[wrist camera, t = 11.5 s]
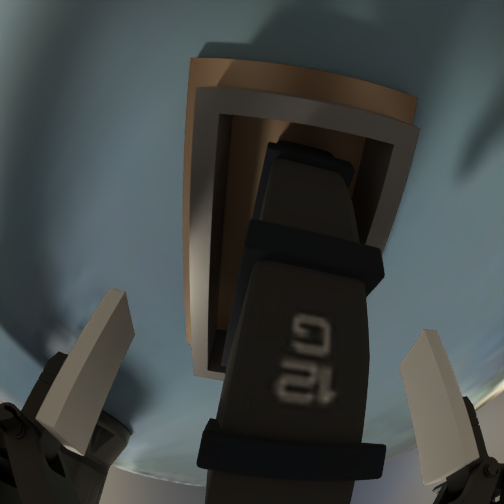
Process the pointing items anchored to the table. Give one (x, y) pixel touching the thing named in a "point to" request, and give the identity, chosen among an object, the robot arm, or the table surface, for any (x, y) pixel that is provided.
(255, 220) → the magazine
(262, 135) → the board
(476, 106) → the table surface
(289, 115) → the cradle
